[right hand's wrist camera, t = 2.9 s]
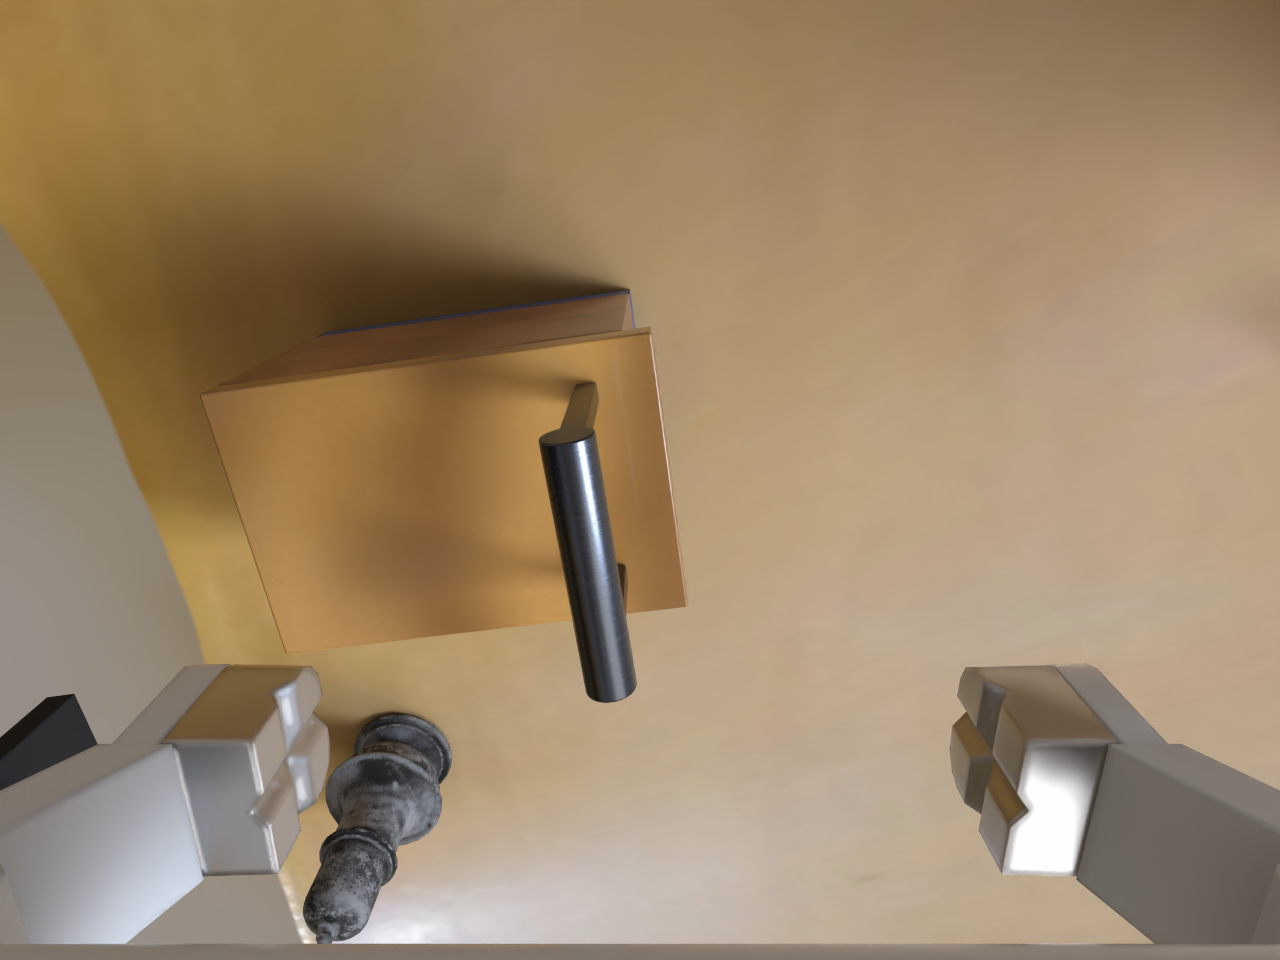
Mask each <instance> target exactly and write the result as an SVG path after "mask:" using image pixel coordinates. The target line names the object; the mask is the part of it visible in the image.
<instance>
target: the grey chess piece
mask: <svg viewBox="0 0 1280 960" xmlns="http://www.w3.org/2000/svg"><path fill="white" fill-rule="evenodd" d="M451 756H452V754H451V750H450V747H449V744H448V742H447V740H446V739H445V737H444V736H443V734H442V733H441V732H440V731H439V730H438V729H437V728H436V727H435V726H433V725H432V724H430V723H428V722H427V721H425V720H423V719H420V718H417V717H414V716H411V715H403V714H393V715H385V716H382V717H380V718H377V719H374V720H373V721H371V722H370V723H369V724H367V725H366V726H365V727H364V728H363V730H362V731H361V732H360V733H359V735H358V737H357V740H356V743H355V754H354V755H353V756H351V757H350V758H348V759H347V760H346V761H344V762H343V763H341V764H340V765H339V766H337V768H336V769H335V770H334V772H333V773H332V774H331V776H330V777H329V780H328V783H327V786H326V802H327V805H328V808H329V811H330V813H331V815H332V816H333V818H334V819H335V821H336V822H337V823H338V825H339V826H338V828H337V830H336V832H334V833H332V834H331V835H329V836H328V837H327V838H326V839H325V841H324V842H323V843H322V846H321V849H320V852H319V854H320V862H321V867H320V869H319V871H318V873H317V875H316V877H315V879H314V882H313V884H312V886H311V888H310V890H309V892H308V894H307V896H306V899H305V902H304V906H303V916H304V919H305V921H306V924H307V926H308V927H309V929H310V930H311V931H312V932H313V933H314V934H316V935H317V936H316V941H317V944H332V941H344V940H347V939H350V938H352V937H354V936H355V935H357V934H358V933H360V932H361V931H362V929H363V928H364V927H365V925H366V924H367V922H368V919H369V917H370V914H371V912H372V909H373V906H374V904H375V901H376V898H377V896H378V893H379V891H380V888H381V886H383V885H385V884H386V883H388V882H389V881H390V880H391V879H392V877H393V876H394V874H395V871H396V869H397V857H396V854H395V853H396V850H397V848H398V845H406V844H408V843H411V842H414V841H417V840H419V839H421V838H422V837H424V836H425V835H427V834H428V833H429V832H430V831H431V830H432V829H433V827H434V826H435V825H436V824H437V821H438V819H439V816H440V814H441V810H442V798H441V794H440V787H439V784H440V783H441V782H442V781H443V780H444V779H445V777H446V776H447V774H448V772H449V769H450V766H451Z"/></svg>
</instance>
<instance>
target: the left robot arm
mask: <svg viewBox="0 0 1280 960" xmlns="http://www.w3.org/2000/svg"><path fill="white" fill-rule="evenodd" d="M95 745H98V744H97V742H96V740H95V738H94V736H93V733H92V731H91V729H90V727H89V725H88V723H87V721H86V718H85V716H84V714H83V712H82V710H81V708H80V705H79V703H78V701H77V699H76V697H75V694H69V695H62V696H54V697H47V698H46V699H45V700H43V701H42V702H41V703H40V704H39V705H38V706H36V707H35V708H34V709H33V710H32V711H31V712H30V713H28V714H27V715H26V716H25V717H24V718H23V719H21V720H20V721H19V722H18V723H17V724H16V725H14V726H13V727H12V728H11V729H10V730H9V731H7V732H6V733H5V734H4V735H3V736H2V737H0V790H2V789H5V788H7V787H9V786H11V785H13V784H15V783H17V782H19V781H21V780H24V779H26V778H28V777H30V776H32V775H34V774H36V773H38V772H41V771H43V770H45V769H47V768H49V767H51V766H53V765H55V764H57V763H60V762H62V761H64V760H66V759H68V758H70V757H72V756H74V755H76V754H79V753H81V752H83V751H85V750H87V749H89V748H91V747H93V746H95Z"/></svg>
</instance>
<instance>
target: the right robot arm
mask: <svg viewBox="0 0 1280 960" xmlns="http://www.w3.org/2000/svg"><path fill="white" fill-rule="evenodd" d="M322 696H323V695H322V690H321V685H320V680H319V675H318V673H317V672H316V671H315V670H314V668H313V667H312V666H284V665H229V664H195V665H191V666H187V667H184V668H183V669H182V670H181V671H180V672H179V673H178V674H177V675H176V677H175V678H174V679H173V680H172V681H171V682H170V683H169V684H168V685H167V686H166V687H165V688H164V689H163V690H162V691H161V692H160V693H159V695H158V696H157V697H156V698H155V699H154V700H153V701H152V702H151V703H150V704H149V705H148V706H147V707H146V708H145V709H144V710H143V712H142V713H141V714H140V715H139V716H138V717H137V718H136V719H135V720H134V721H133V722H132V723H131V724H130V725H129V726H128V727H127V728H126V730H125V731H124V732H123V733H122V734H121V735H120V736H119V737H118V738H117V739H116V740H115V741H114V742H113V743H112V744H98V745H95V746H93V747H91V748H89V749H87V750H85V751H83V752H81V753H79V754H76V755H74V756H72V757H70V758H68V759H66V760H64V761H62V762H60V763H57V764H55V765H53V766H51V767H49V768H47V769H45V770H43V771H41V772H38V773H36V774H34V775H32V776H30V777H28V778H26V779H24V780H21V781H19V782H17V783H15V784H13V785H11V786H9V787H7V788H5V789H2V790H0V960H1280V791H1279V790H1277V789H1275V788H1273V787H1271V786H1269V785H1267V784H1265V783H1263V782H1260V781H1258V780H1256V779H1254V778H1252V777H1250V776H1248V775H1246V774H1244V773H1241V772H1239V771H1237V770H1235V769H1233V768H1231V767H1229V766H1227V765H1225V764H1222V763H1220V762H1218V761H1216V760H1214V759H1212V758H1210V757H1208V756H1206V755H1203V754H1201V753H1199V752H1197V751H1195V750H1193V749H1191V748H1189V747H1187V746H1185V745H1182V744H1168V743H1167V742H1166V741H1165V740H1164V739H1163V738H1162V737H1161V736H1160V735H1159V734H1158V733H1157V732H1156V731H1155V729H1154V728H1153V727H1152V726H1151V725H1150V724H1149V723H1148V722H1147V721H1146V720H1145V719H1144V718H1143V717H1142V716H1141V715H1140V714H1139V712H1138V711H1137V710H1136V709H1135V708H1134V707H1133V706H1132V705H1131V704H1130V703H1129V702H1128V701H1127V700H1126V699H1125V698H1124V697H1123V695H1122V694H1121V693H1120V692H1119V691H1118V690H1117V689H1116V688H1115V687H1114V686H1113V685H1112V684H1111V683H1110V682H1109V681H1108V680H1107V678H1106V677H1105V676H1104V675H1103V674H1102V673H1101V672H1100V671H1099V670H1098V669H1097V668H1095V667H1093V666H1091V665H1088V664H1063V665H1046V666H1004V667H966V668H965V670H964V672H963V674H962V676H961V678H960V683H959V689H958V695H957V696H958V698H959V699H960V701H961V703H962V704H963V706H964V708H965V709H966V711H967V712H966V713H965V714H964V715H963V716H962V717H961V718H960V719H959V720H958V721H957V722H956V723H955V724H954V725H953V727H952V735H951V744H950V755H951V766H952V773H953V776H954V779H955V783H956V786H957V789H958V791H959V793H960V795H961V797H962V799H963V801H964V803H965V804H967V805H968V806H970V807H971V808H973V809H974V810H976V811H977V812H979V813H980V814H982V815H981V820H980V826H979V832H980V834H981V835H982V837H983V839H984V841H985V843H986V845H987V847H988V849H989V851H990V852H991V854H992V856H993V858H994V860H995V862H996V864H997V866H998V868H999V869H1000V871H1001V873H1002V874H1015V875H1051V876H1077V879H1076V880H1077V881H1079V882H1080V883H1081V884H1082V885H1084V886H1085V887H1086V888H1087V889H1089V890H1090V891H1091V892H1092V893H1093V894H1095V895H1096V896H1097V897H1098V898H1100V899H1101V900H1102V901H1103V902H1104V903H1106V904H1107V905H1108V906H1109V907H1111V908H1112V909H1113V910H1114V911H1116V912H1117V913H1118V914H1119V915H1120V916H1122V917H1123V918H1124V919H1125V920H1127V921H1128V922H1129V923H1130V924H1131V925H1133V926H1134V927H1135V928H1136V929H1138V930H1139V931H1140V932H1141V933H1143V934H1144V935H1145V936H1146V937H1147V938H1149V939H1150V940H1151V941H1152V942H1154V943H1155V944H125V943H127V942H128V941H129V940H130V939H131V938H133V937H134V936H135V935H136V934H138V933H139V932H140V931H141V930H143V929H144V928H145V927H146V926H147V925H149V924H150V923H151V922H152V921H154V920H155V919H156V918H157V917H159V916H160V915H161V914H162V913H163V912H165V911H166V910H167V909H168V908H170V907H171V906H172V905H173V904H175V903H176V902H177V901H178V900H180V899H181V898H182V897H183V896H184V895H186V894H187V893H188V892H189V891H191V890H192V889H193V888H194V887H195V886H197V885H198V884H199V883H200V882H202V881H203V876H228V875H263V874H278V873H279V872H280V870H281V868H282V866H283V864H284V862H285V860H286V858H287V856H288V854H289V853H290V851H291V849H292V847H293V845H294V843H295V841H296V839H297V837H298V835H299V834H300V832H301V826H300V820H299V815H298V814H300V813H301V812H303V811H304V810H306V809H307V808H309V807H310V806H312V805H313V804H315V803H316V801H317V799H318V797H319V795H320V793H321V791H322V788H323V786H324V784H325V779H326V775H327V770H328V766H329V759H330V741H329V734H328V727H327V725H326V724H325V723H324V722H323V721H322V720H321V719H320V718H319V717H318V716H317V715H316V714H315V713H314V712H313V711H314V709H315V708H316V706H317V704H318V703H319V701H320V699H321V698H322Z"/></svg>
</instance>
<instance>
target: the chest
mask: <svg viewBox="0 0 1280 960" xmlns="http://www.w3.org/2000/svg"><path fill="white" fill-rule="evenodd" d="M630 329H635V323H634V316H633V309H632V302H631V295H630V290H622V291H615V292H608V293H601V294H594V295H587V296H579V297H572V298H565V299H558V300H551V301H544V302H537V303H530V304H522V305H515V306H508V307H501V308H494V309H487V310H480V311H472V312H465V313H458V314H451V315H444V316H437V317H430V318H423V319H415V320H408V321H401V322H394V323H387V324H380V325H373V326H366V327H358V328H351V329H344V330H337V331H330V332H325V333H323V334H321V335H319V336H317V337H316V338H314V339H312V340H310V341H308V342H306V343H304V344H302V345H300V346H298V347H296V348H294V349H292V350H290V351H287V352H285V353H283V354H281V355H279V356H277V357H275V358H273V359H271V360H269V361H267V362H265V363H263V364H261V365H259V366H257V367H255V368H252V369H250V370H248V371H246V372H244V373H242V374H240V375H238V376H236V377H234V378H232V379H230V380H228V381H226V382H224V383H222V384H219V385H218V386H222V385H229V384H237V383H244V382H251V381H259V380H266V379H273V378H280V377H288V376H295V375H302V374H309V373H317V372H324V371H331V370H339V369H346V368H353V367H360V366H368V365H375V364H382V363H390V362H397V361H404V360H411V359H419V358H426V357H433V356H440V355H448V354H455V353H462V352H470V351H477V350H484V349H491V348H499V347H506V346H513V345H521V344H528V343H535V342H542V341H550V340H557V339H564V338H571V337H579V336H586V335H593V334H601V333H608V332H615V331H622V330H630Z"/></svg>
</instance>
